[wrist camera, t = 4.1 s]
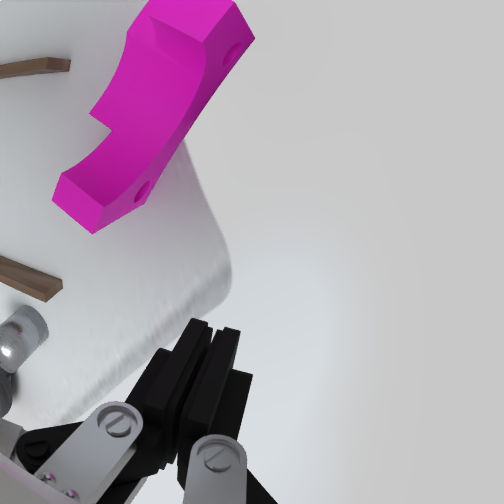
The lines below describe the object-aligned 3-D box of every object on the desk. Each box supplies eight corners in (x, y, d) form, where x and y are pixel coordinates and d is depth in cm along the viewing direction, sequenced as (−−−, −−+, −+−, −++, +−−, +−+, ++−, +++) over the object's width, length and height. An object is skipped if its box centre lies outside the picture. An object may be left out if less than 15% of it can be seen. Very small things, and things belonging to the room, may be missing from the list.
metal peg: (17, 299, 31) (-20, 329, 25) (45, 312, 31) (8, 346, 25) (24, 331, 33) (-8, 362, 27) (51, 345, 33) (19, 379, 27)
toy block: (186, 2, 18) (143, -36, 11) (255, 38, 19) (234, 1, 12) (89, 161, 24) (28, 179, 17) (145, 203, 25) (92, 234, 18)
